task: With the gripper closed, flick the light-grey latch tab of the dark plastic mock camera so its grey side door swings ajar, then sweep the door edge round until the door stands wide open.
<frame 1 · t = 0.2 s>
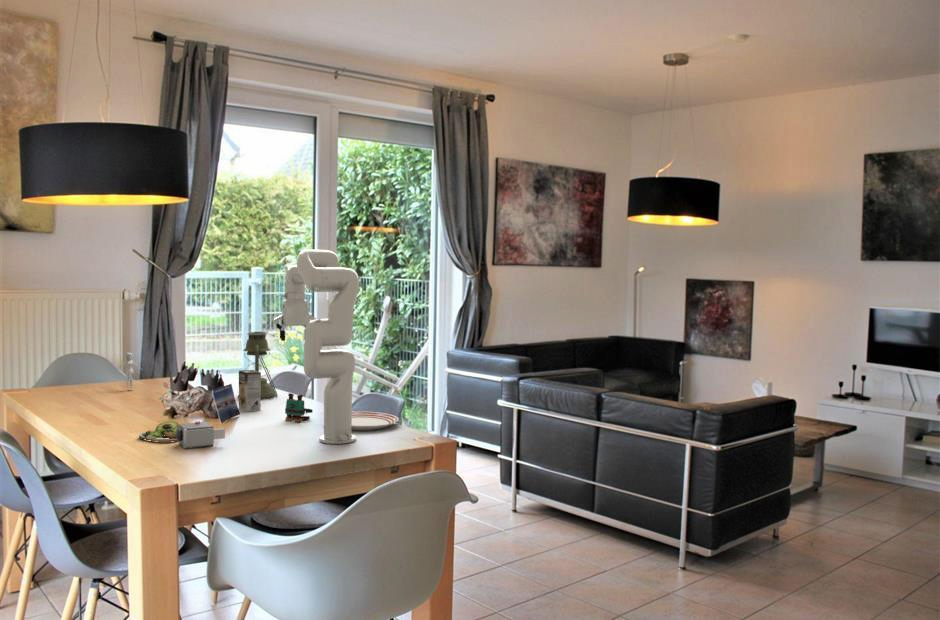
hand: (294, 340, 302), 31 cm above the table, tool pointing down, fingers open, 9 cm apart
human figurine: (129, 391, 363), on the table
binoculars: (298, 420, 301), on the table
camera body: (196, 444, 257), on the table
dinner plate: (362, 426, 292), on the table
green desk lamp: (257, 397, 351), on the table
side door: (204, 436, 253), point 4 cm above the table, hinge at 0.0°
coffee box: (249, 409, 321), on the table
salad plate: (168, 438, 267), on the table
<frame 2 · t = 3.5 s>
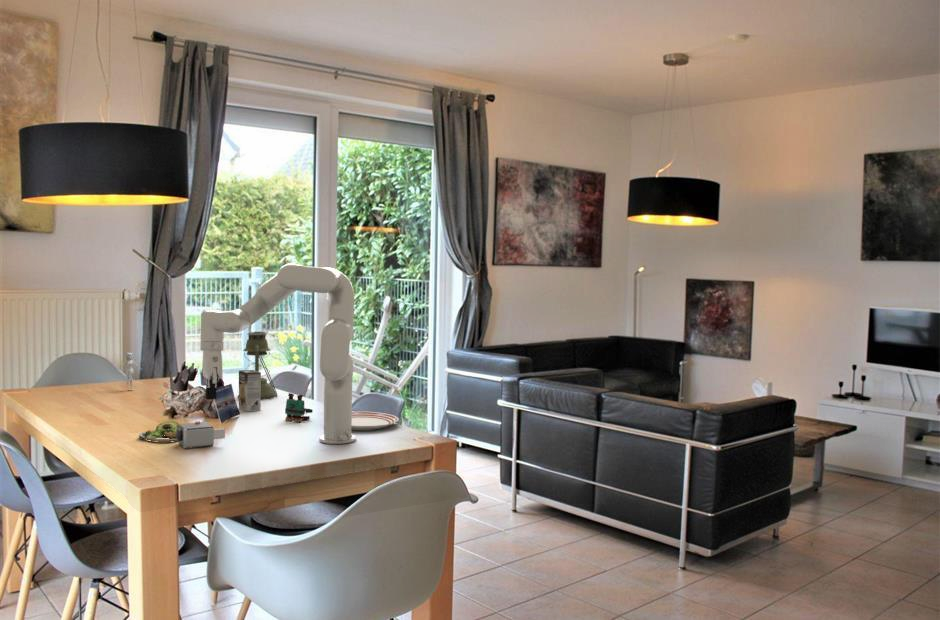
hand: (210, 398, 264), 14 cm above the table, tool pointing down, fingers closed
nothing on the table moved.
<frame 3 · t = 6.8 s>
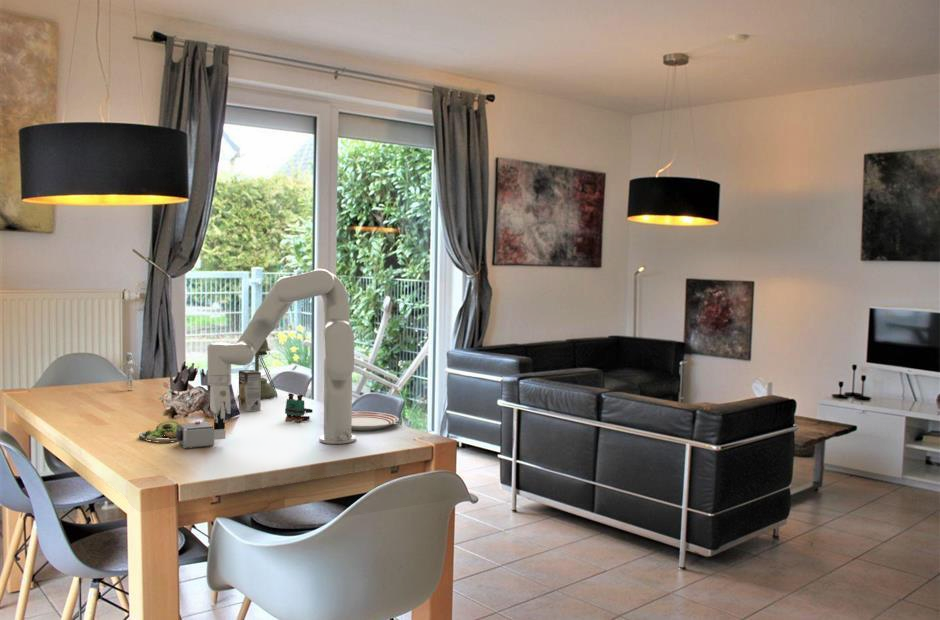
hand: (219, 433, 257), 4 cm above the table, tool pointing down, fingers closed
side door: (204, 436, 252), point 4 cm above the table, hinge at 4.2°, touching gripper
everything else where it was.
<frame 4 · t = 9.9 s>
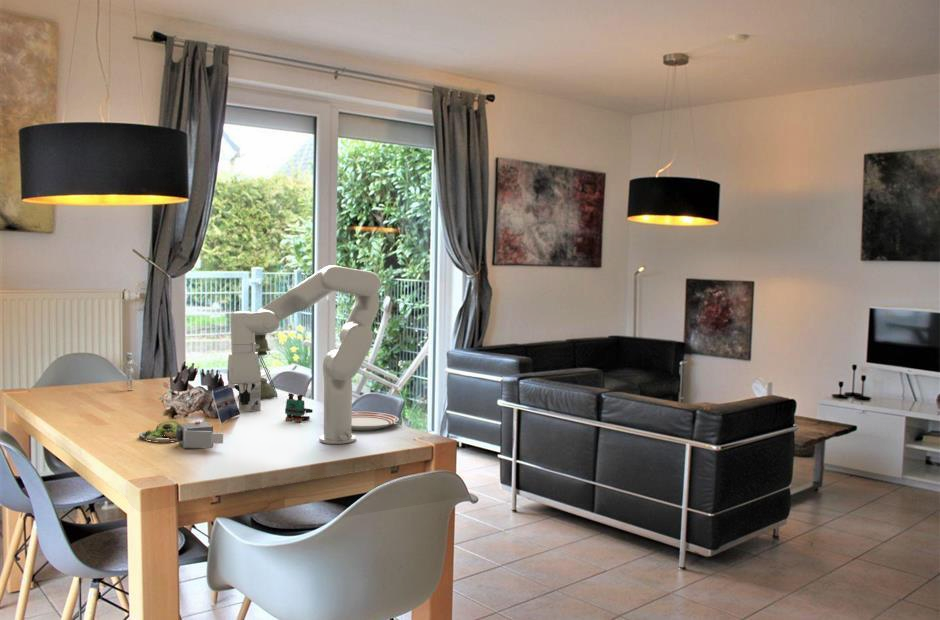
hand: (245, 404, 253), 14 cm above the table, tool pointing down, fingers closed
side door: (203, 439, 249), point 4 cm above the table, hinge at 36.3°
everything else where it was.
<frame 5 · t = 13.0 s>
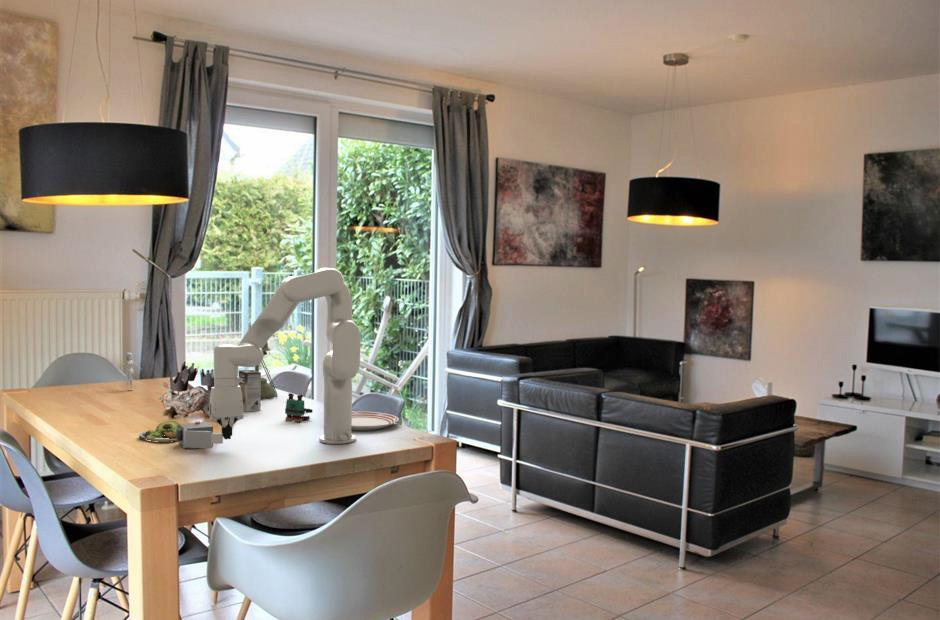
hand: (227, 438, 250), 4 cm above the table, tool pointing down, fingers closed
side door: (202, 439, 249), point 4 cm above the table, hinge at 37.8°, touching gripper
everything else where it was.
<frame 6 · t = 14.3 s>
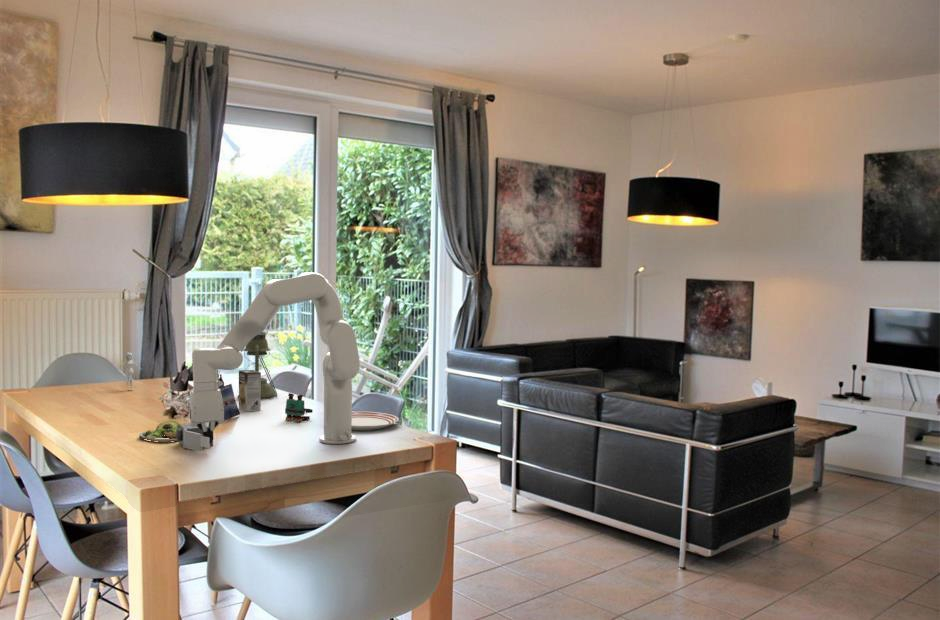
hand: (208, 442, 247), 3 cm above the table, tool pointing down, fingers closed
side door: (196, 441, 246), point 4 cm above the table, hinge at 67.8°, touching gripper
everything else where it was.
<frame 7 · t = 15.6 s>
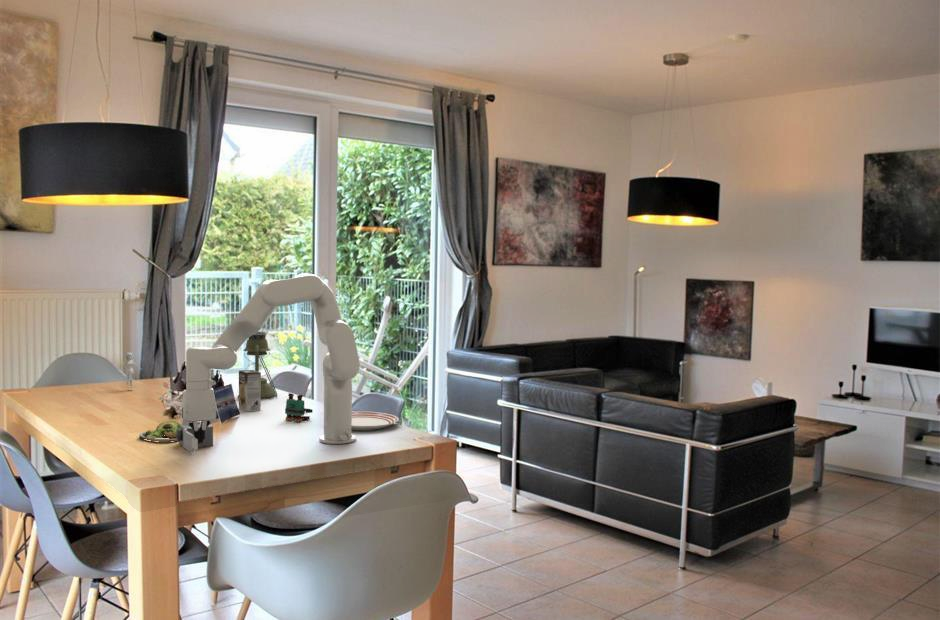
hand: (199, 442, 246), 3 cm above the table, tool pointing down, fingers closed
side door: (190, 442, 245), point 4 cm above the table, hinge at 85.9°
everything else where it was.
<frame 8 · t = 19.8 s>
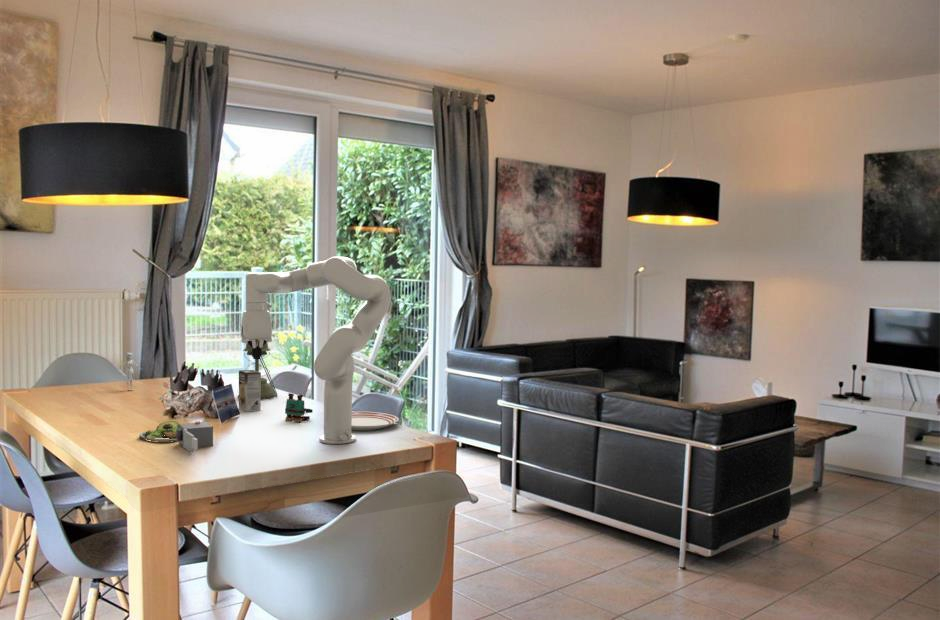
hand: (256, 358, 272), 27 cm above the table, tool pointing down, fingers closed
nothing on the table moved.
at the end: side door at +86° (first picture: +0°) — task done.
